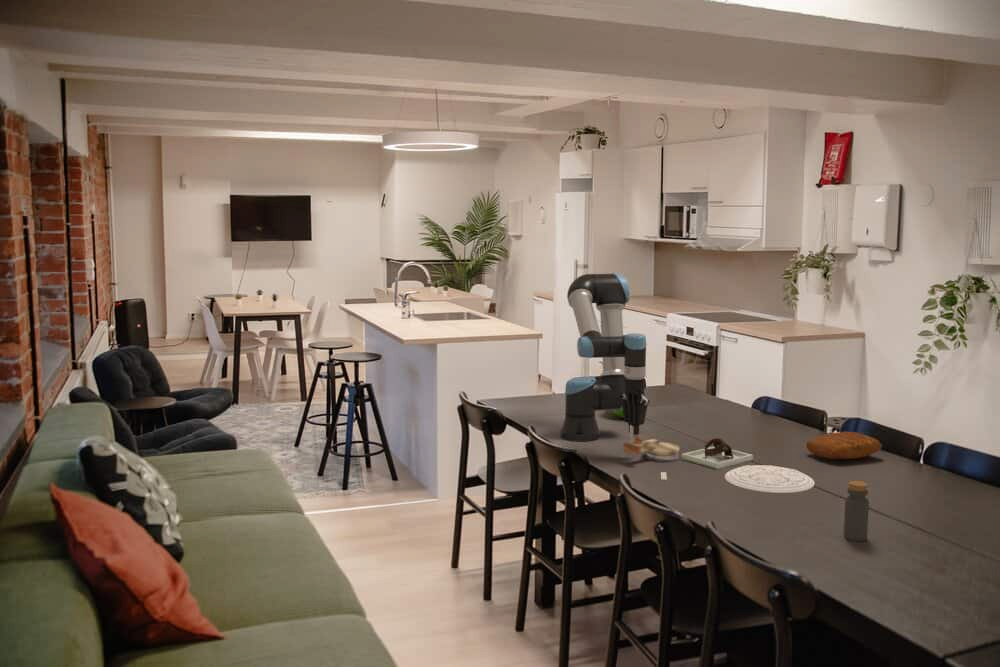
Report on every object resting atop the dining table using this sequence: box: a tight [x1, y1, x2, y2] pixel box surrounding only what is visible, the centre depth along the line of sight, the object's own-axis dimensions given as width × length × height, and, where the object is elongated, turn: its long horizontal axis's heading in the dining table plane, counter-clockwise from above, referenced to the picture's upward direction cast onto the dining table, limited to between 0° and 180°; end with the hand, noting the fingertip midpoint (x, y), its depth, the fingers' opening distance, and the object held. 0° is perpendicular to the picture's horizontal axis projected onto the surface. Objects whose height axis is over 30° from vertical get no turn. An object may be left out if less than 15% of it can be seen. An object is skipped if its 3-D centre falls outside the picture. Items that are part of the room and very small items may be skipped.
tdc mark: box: [660, 471, 668, 481], centre depth 295 cm, size 8×2×1 cm, turn 171°
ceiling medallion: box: [724, 464, 815, 494], centre depth 291 cm, size 28×28×3 cm
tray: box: [681, 446, 754, 470], centre depth 314 cm, size 16×19×2 cm
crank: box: [622, 434, 681, 456], centre depth 315 cm, size 22×12×7 cm, turn 126°
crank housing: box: [646, 451, 679, 462], centre depth 318 cm, size 11×11×2 cm
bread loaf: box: [806, 431, 883, 460], centre depth 316 cm, size 22×17×8 cm
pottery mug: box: [704, 437, 734, 459], centre depth 315 cm, size 12×10×8 cm
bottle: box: [843, 480, 870, 542], centre depth 237 cm, size 6×6×15 cm
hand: (633, 443), depth 316 cm, fingers closed
